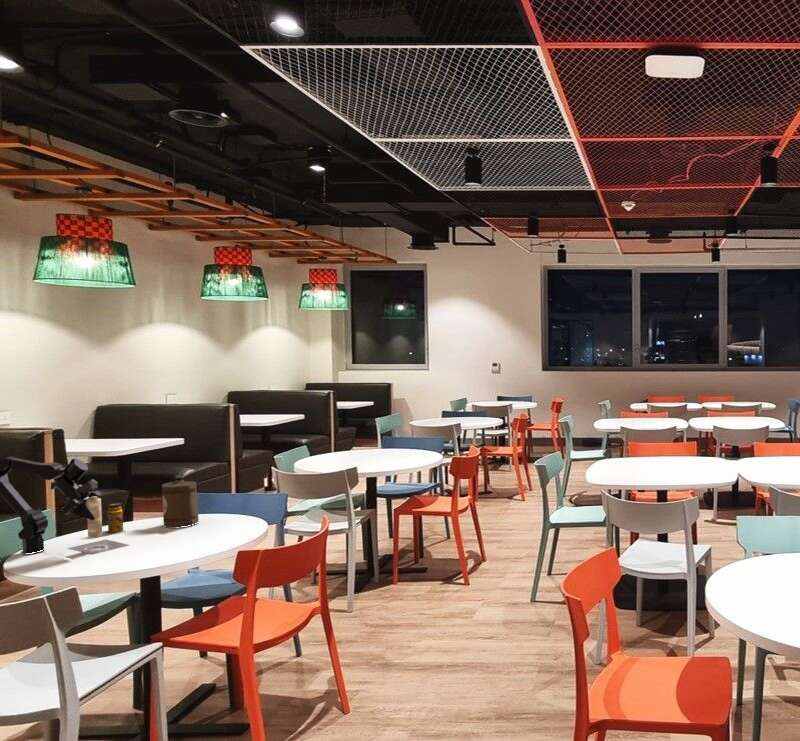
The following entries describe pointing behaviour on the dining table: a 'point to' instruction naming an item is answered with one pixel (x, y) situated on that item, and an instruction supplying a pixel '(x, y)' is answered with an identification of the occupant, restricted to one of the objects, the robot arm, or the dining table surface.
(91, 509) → the beige wooden pepper mill
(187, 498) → the wooden container
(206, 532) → the dining table surface
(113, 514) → the condiment
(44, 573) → the dining table surface
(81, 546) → the baseplate
